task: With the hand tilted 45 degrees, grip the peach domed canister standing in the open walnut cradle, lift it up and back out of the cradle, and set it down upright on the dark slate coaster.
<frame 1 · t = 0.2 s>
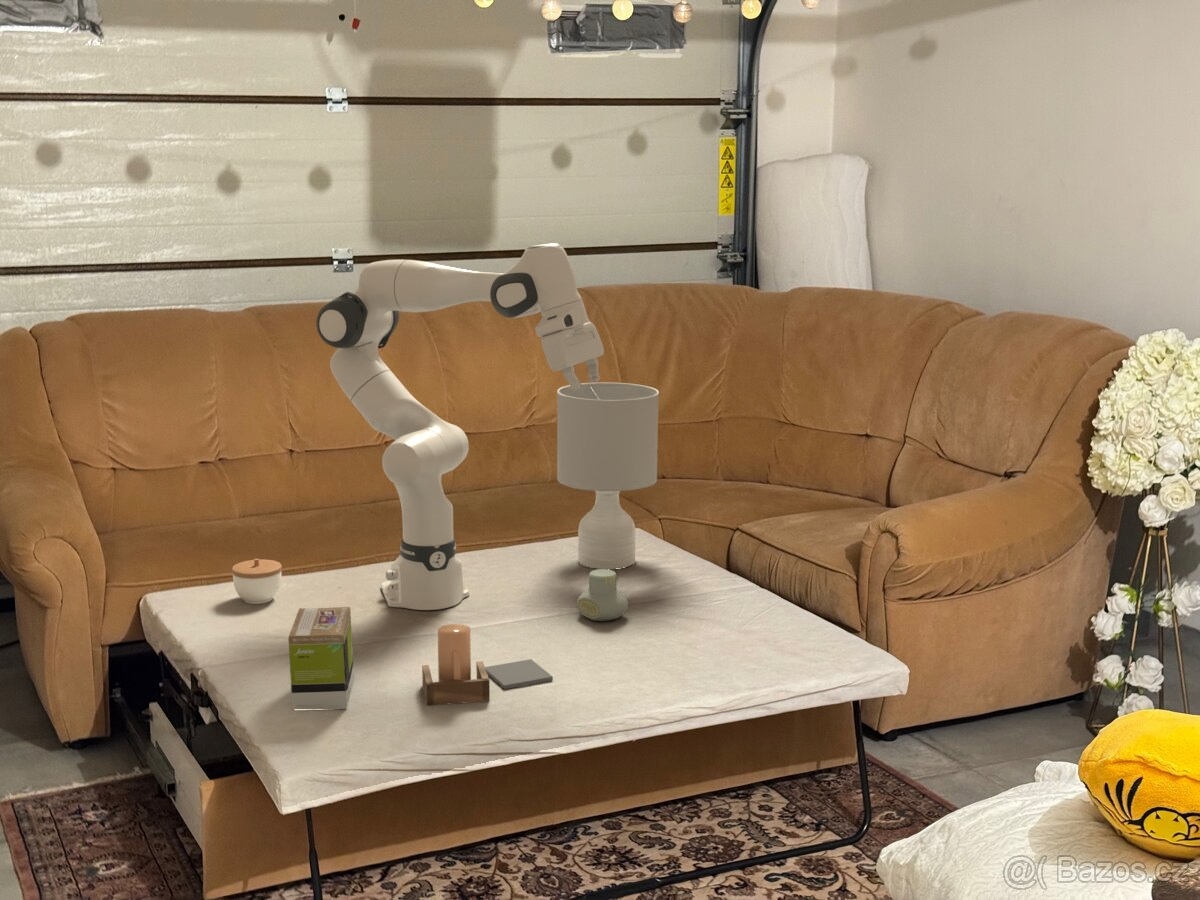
hand: (586, 385, 280), 52 cm above the table, tool tilted 20°, fingers open, 8 cm apart
coaster: (518, 675, 263), on the table
air freshener: (602, 617, 296), on the table
peach domed canister: (454, 661, 254), in the cradle
tea box: (323, 696, 253), on the table
cradle: (454, 690, 256), on the table
lidded jar: (258, 600, 305), on the table
lamp: (606, 562, 335), on the table
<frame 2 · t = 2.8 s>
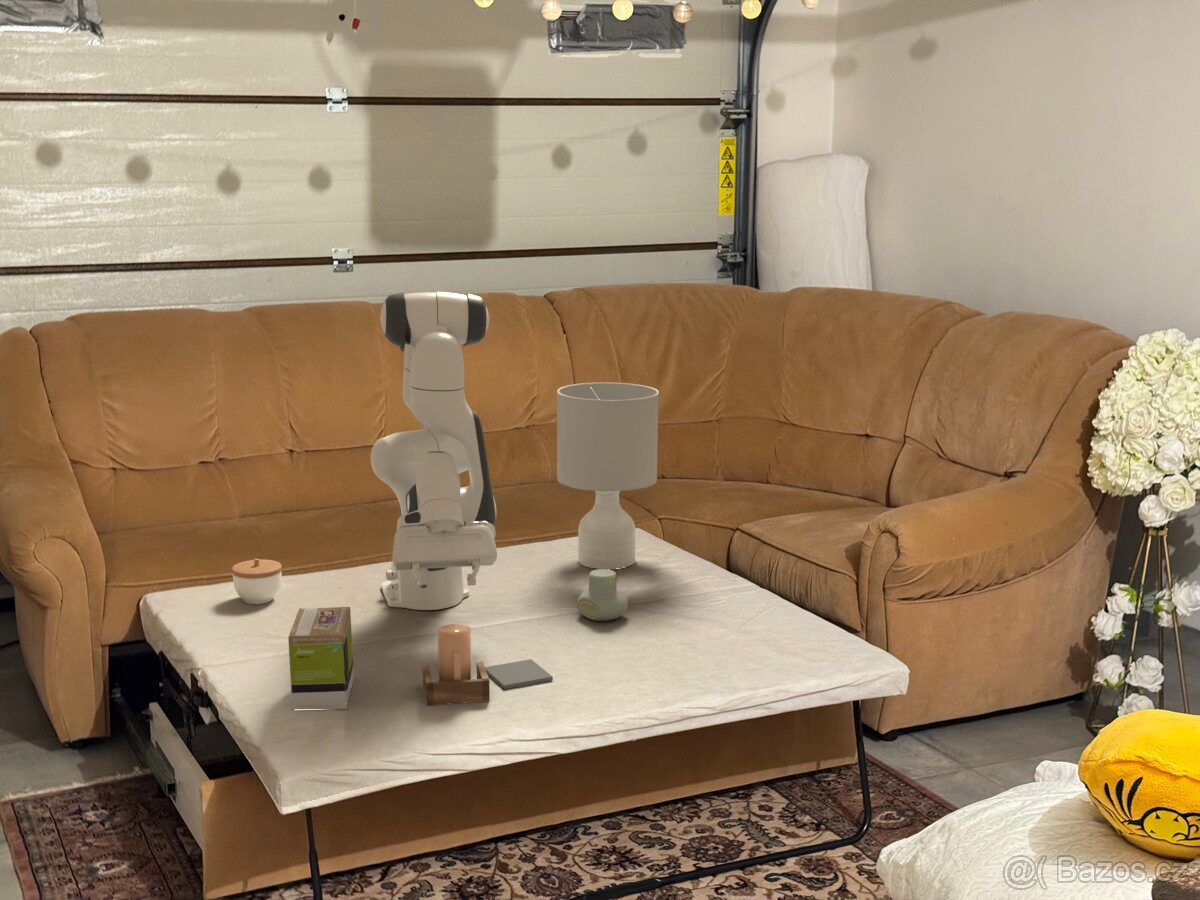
hand: (447, 585, 263), 17 cm above the table, tool tilted 45°, fingers open, 8 cm apart
nothing on the table moved.
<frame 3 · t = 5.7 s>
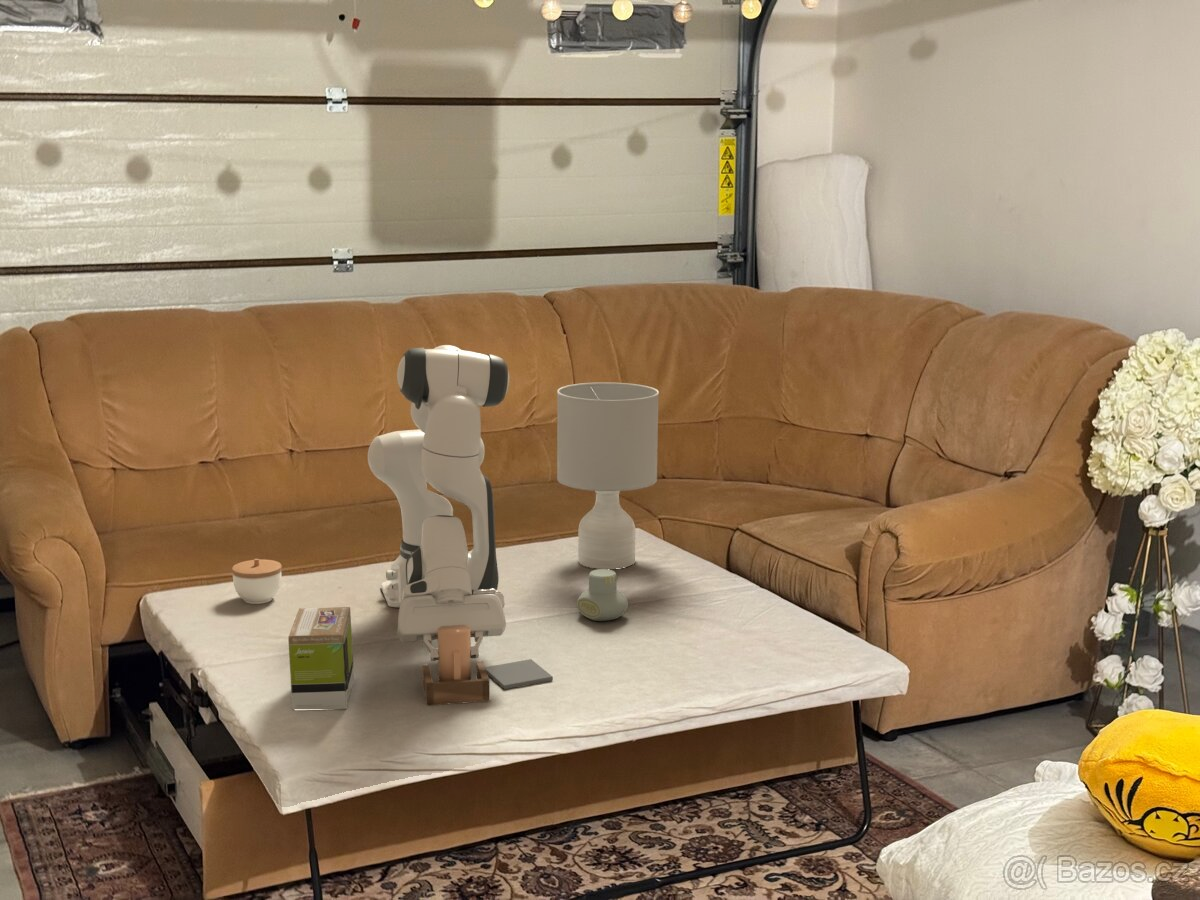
hand: (454, 658, 254), 7 cm above the table, tool tilted 45°, fingers closed on peach domed canister, 6 cm apart
peach domed canister: (454, 661, 254), in the cradle, touching gripper
everything else where it was.
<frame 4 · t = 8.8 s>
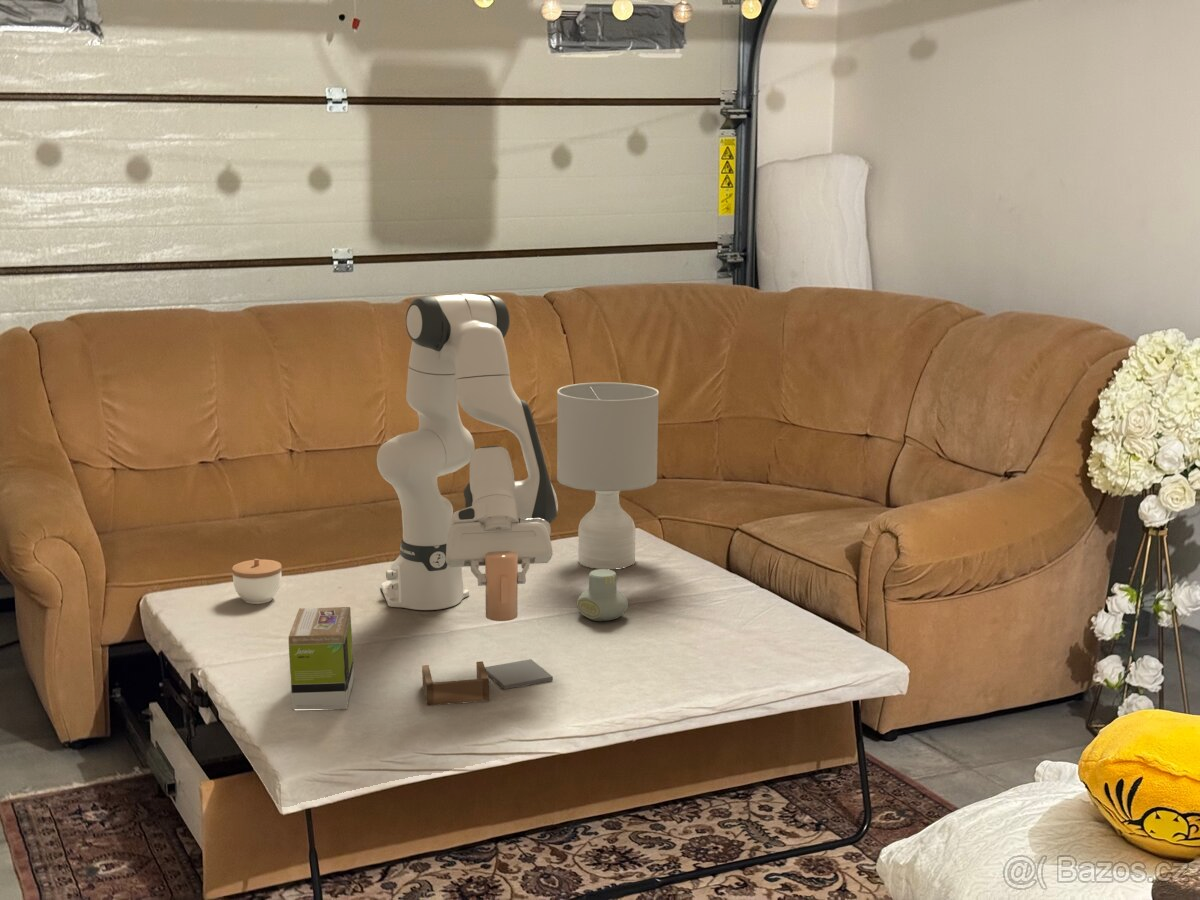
hand: (502, 583, 257), 19 cm above the table, tool tilted 45°, fingers closed on peach domed canister, 6 cm apart
peach domed canister: (502, 586, 257), point 19 cm above the table, touching gripper
everything else where it was.
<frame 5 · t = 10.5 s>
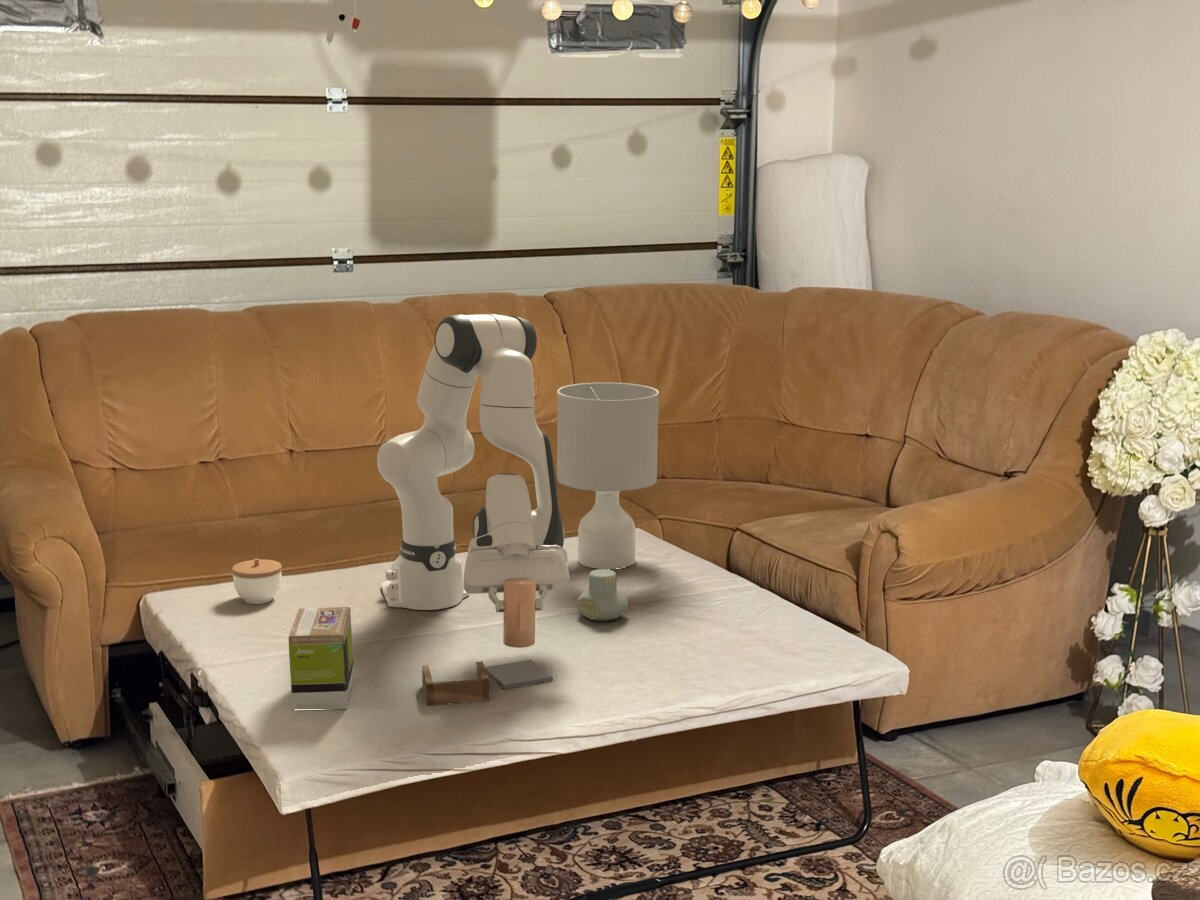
hand: (519, 610, 259), 14 cm above the table, tool tilted 45°, fingers closed on peach domed canister, 6 cm apart
peach domed canister: (520, 613, 259), point 13 cm above the table, touching gripper
everything else where it was.
when the fingers open (8 cm above the table, at t = 12.1 s): peach domed canister stays where it is, resting on coaster.
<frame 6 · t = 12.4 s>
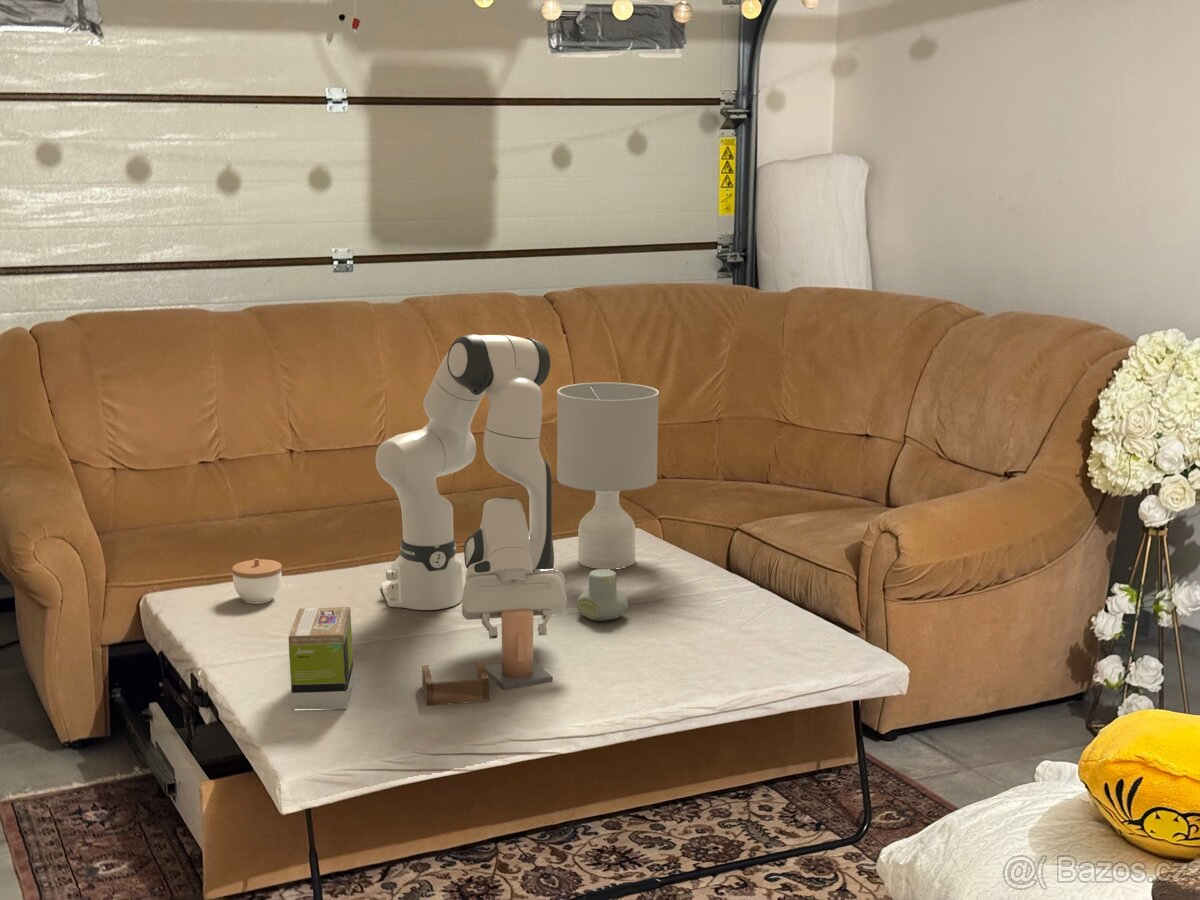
hand: (518, 635, 261), 8 cm above the table, tool tilted 45°, fingers open, 8 cm apart
peach domed canister: (518, 643, 261), on the coaster, point 7 cm above the table
everything else where it was.
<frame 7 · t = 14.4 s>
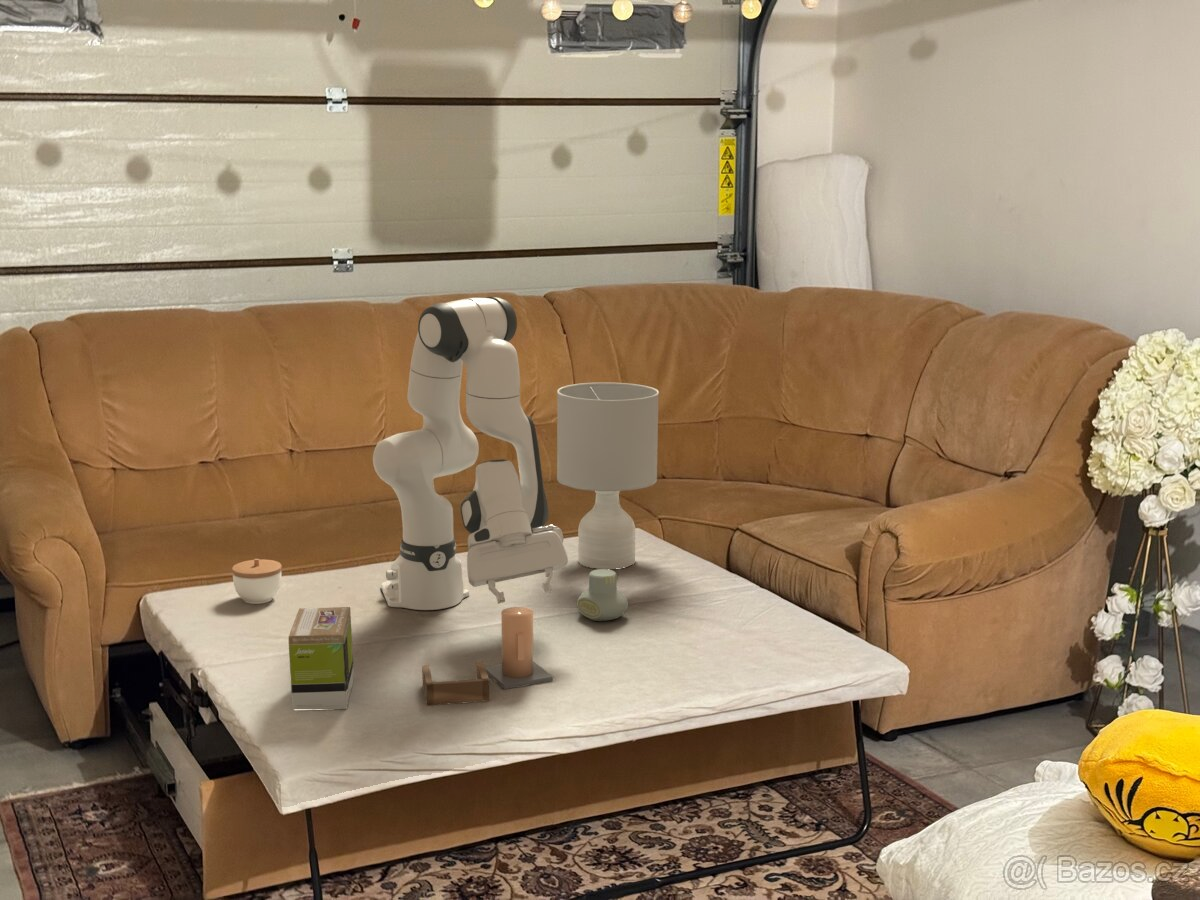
hand: (524, 597, 272), 12 cm above the table, tool tilted 35°, fingers open, 8 cm apart
nothing on the table moved.
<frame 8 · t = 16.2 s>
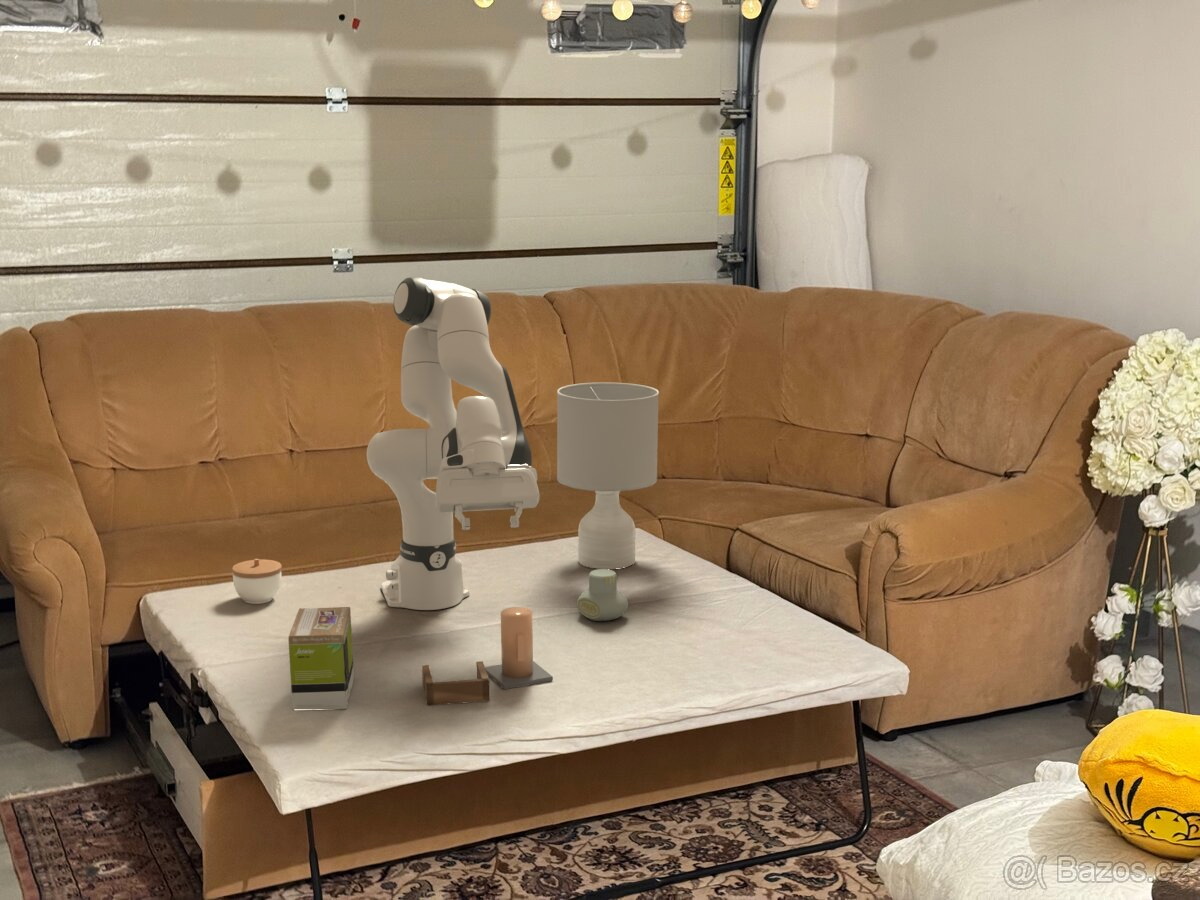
hand: (490, 527, 263), 28 cm above the table, tool tilted 45°, fingers open, 8 cm apart
nothing on the table moved.
at the end: peach domed canister inside the target area on the coaster (0.1 cm from its centre), point 6.8 cm above the coaster's base; peach domed canister tilted 1°; the gripper is holding nothing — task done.
